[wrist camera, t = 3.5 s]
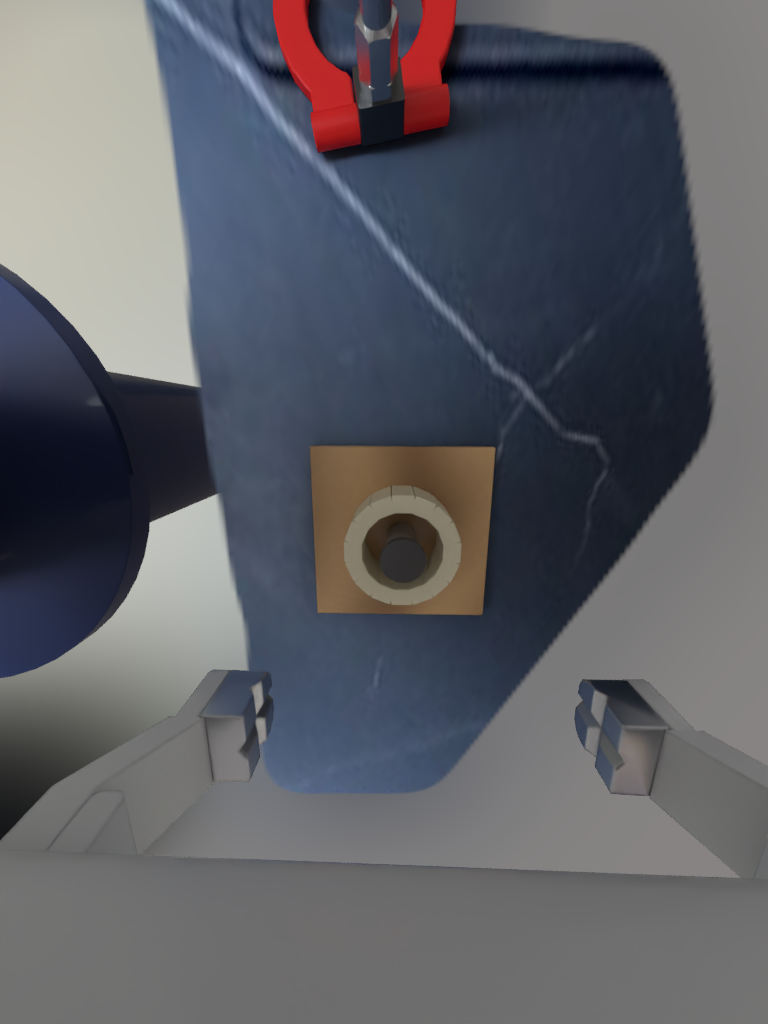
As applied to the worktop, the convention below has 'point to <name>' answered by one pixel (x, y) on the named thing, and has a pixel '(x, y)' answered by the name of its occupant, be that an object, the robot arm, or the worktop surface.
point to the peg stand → (401, 522)
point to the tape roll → (438, 563)
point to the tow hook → (371, 74)
